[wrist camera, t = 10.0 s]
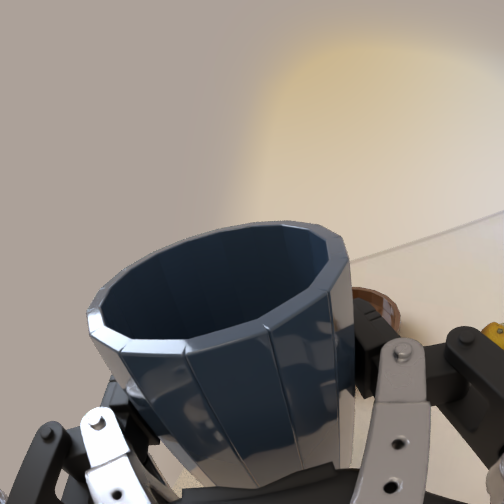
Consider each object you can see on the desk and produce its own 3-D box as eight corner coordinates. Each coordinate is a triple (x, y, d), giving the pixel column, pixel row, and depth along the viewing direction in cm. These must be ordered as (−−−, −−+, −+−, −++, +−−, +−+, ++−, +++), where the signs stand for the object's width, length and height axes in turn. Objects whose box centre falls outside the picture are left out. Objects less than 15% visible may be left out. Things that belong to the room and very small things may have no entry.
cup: (191, 509, 9) (39, 344, 5) (225, 406, 15) (157, 239, 11) (350, 518, 7) (372, 341, 3) (348, 401, 13) (333, 208, 9)
